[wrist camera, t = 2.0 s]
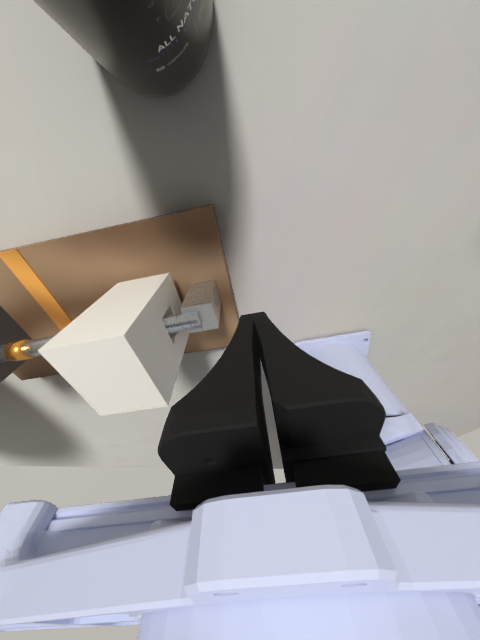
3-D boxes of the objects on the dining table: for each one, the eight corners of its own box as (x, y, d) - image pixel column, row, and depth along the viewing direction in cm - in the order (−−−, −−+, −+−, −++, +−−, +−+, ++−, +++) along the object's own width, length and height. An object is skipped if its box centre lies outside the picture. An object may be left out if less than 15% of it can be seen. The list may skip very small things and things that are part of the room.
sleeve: (191, 327, 18) (168, 406, 11) (146, 335, 18) (100, 415, 12) (169, 272, 15) (123, 335, 9) (117, 282, 15) (37, 350, 9)
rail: (221, 300, 17) (217, 334, 14) (9, 339, 19) (-49, 379, 15) (215, 279, 16) (209, 308, 12) (-9, 321, 18) (-77, 360, 14)
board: (242, 334, 21) (243, 344, 20) (33, 369, 23) (20, 380, 22) (212, 204, 15) (210, 205, 13) (-75, 267, 17) (-102, 274, 15)
